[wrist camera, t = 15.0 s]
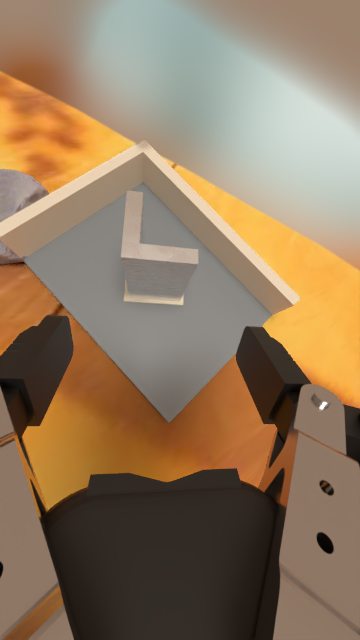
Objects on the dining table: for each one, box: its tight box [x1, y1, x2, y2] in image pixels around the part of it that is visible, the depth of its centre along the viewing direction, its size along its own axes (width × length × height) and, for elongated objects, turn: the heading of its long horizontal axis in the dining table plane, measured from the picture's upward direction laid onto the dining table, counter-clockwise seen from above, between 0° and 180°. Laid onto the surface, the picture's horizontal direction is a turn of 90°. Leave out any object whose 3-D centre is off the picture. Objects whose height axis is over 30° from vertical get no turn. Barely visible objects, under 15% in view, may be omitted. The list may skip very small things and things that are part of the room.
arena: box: [0, 140, 300, 423], centre depth 24 cm, size 24×18×5 cm
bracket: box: [121, 190, 198, 301], centre depth 21 cm, size 6×6×9 cm
